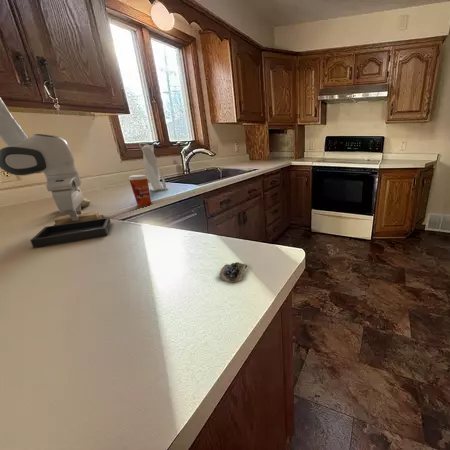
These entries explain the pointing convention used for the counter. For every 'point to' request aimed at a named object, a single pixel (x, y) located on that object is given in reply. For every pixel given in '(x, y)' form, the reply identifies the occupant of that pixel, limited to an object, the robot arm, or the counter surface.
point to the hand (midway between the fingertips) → (77, 217)
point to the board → (81, 216)
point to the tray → (71, 232)
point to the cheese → (85, 202)
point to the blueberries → (232, 272)
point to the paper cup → (140, 189)
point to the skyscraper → (152, 168)
